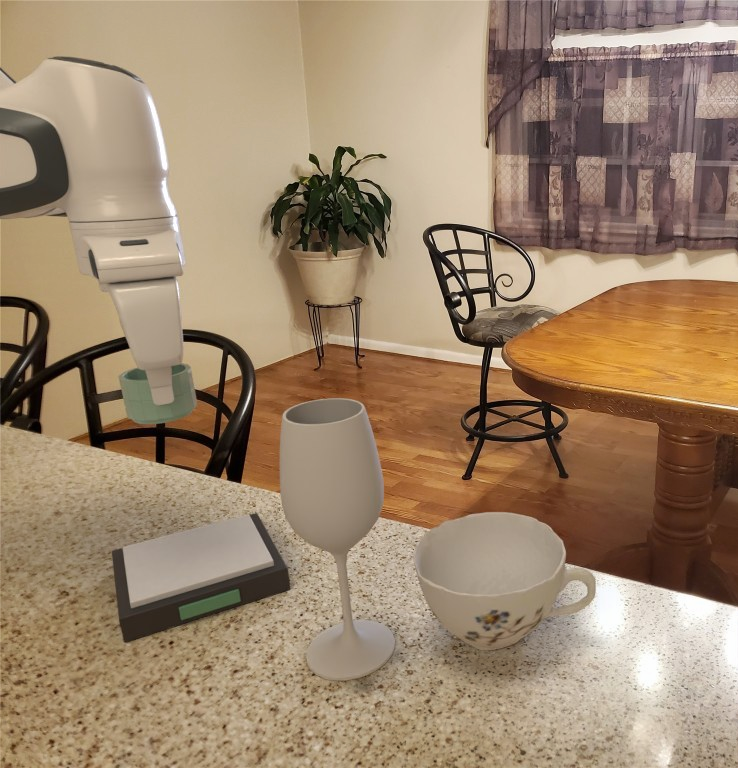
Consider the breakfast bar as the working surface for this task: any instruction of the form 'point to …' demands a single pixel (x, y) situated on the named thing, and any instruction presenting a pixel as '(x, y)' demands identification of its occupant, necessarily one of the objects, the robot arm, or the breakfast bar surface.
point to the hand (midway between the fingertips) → (159, 392)
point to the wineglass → (335, 517)
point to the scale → (195, 574)
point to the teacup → (495, 577)
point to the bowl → (141, 400)
